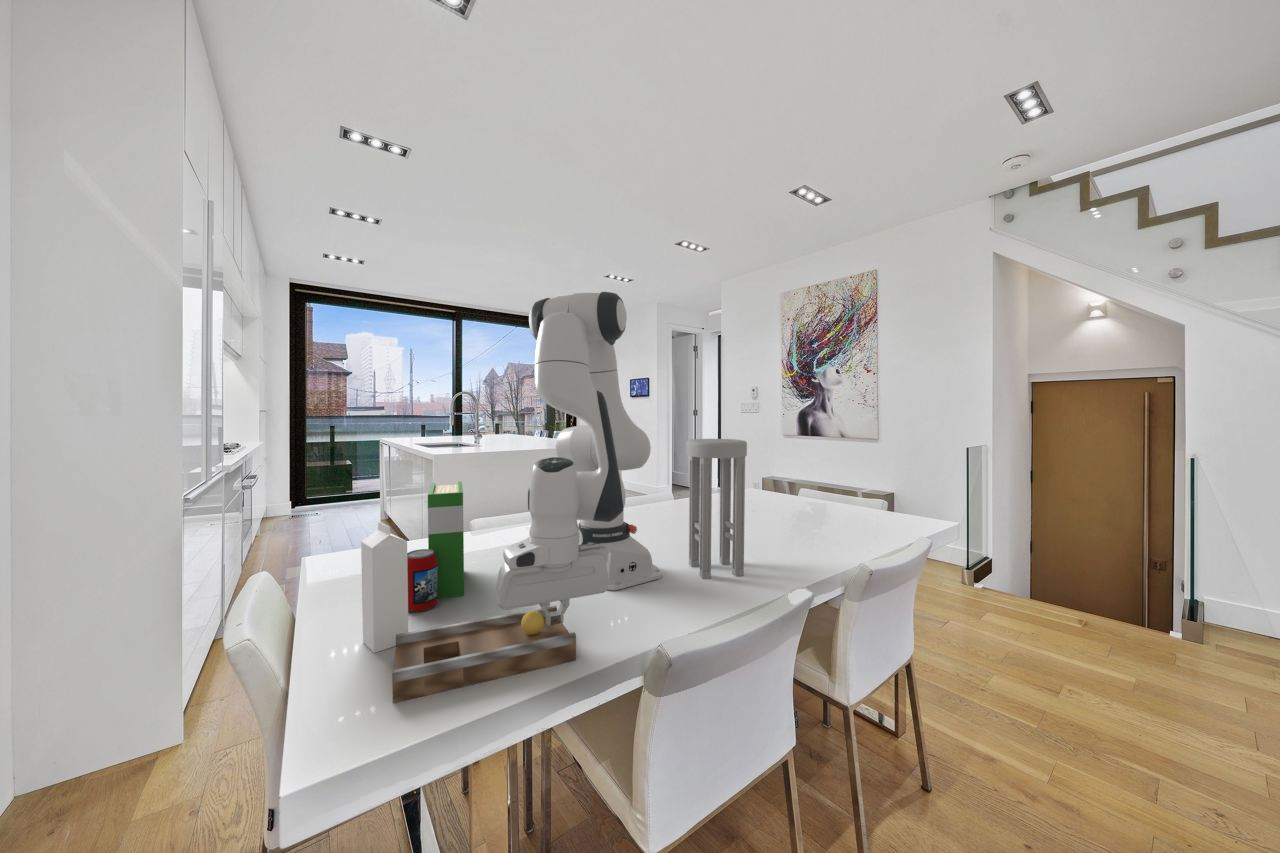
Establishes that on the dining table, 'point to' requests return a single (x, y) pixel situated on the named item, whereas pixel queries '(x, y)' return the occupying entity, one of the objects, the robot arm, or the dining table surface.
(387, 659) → the dining table surface
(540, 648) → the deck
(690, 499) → the stool
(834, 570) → the dining table surface
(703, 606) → the dining table surface
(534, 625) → the ball
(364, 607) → the milk
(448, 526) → the hardback book
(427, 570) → the beverage can
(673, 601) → the dining table surface
